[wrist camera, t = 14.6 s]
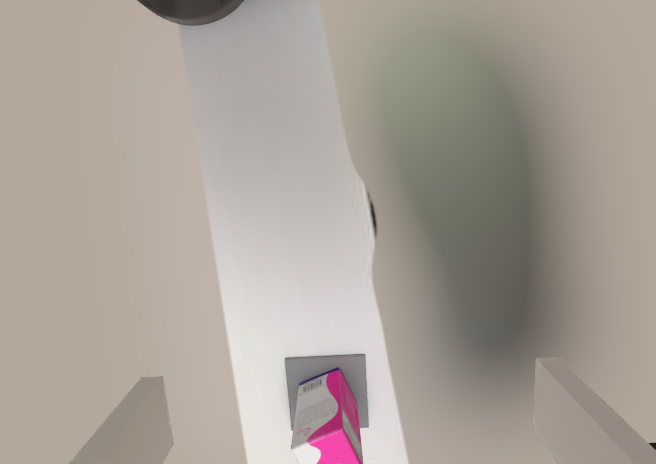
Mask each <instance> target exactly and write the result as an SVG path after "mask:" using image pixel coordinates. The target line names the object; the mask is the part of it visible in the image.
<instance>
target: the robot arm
mask: <svg viewBox="0 0 656 464" xmlns="http://www.w3.org/2000/svg"><path fill="white" fill-rule="evenodd" d="M138 1H139V2H140V3H141V4H143V5H144V6H145V7H147V8H148V9H149V10H151V11H152V12H154V13H155V14H157V15H158V16H160V17H162V18H164V19H166V20H169V21H171V22H175V23H179V24H184V25H201V24H207V23H211V22H214V21H216V20H219V19H221V18H223V17H225V16H226V15H228V14H229V13H231V12H232V11H233V10H234V9H236V8H237V7H238V6H239V5H240V4H241V2H242V1H243V0H138ZM534 396H535V397H534V420H533V421H534V422H533V429H534V430H535V432H536V433H537V435H538V436H539V438H540V439H541V440H542V442H543V443H544V445H545V446H546V448H547V449H548V451H549V452H550V453H551V455H552V456H553V458H554V459H555V461H556V462H557V464H656V443H647V441H645V440H644V439H643V438H642V437H641V436H640V435H639V434H638V433H637V432H636V431H635V430H634V429H633V428H632V427H631V426H630V425H629V424H628V423H627V422H626V421H624V419H623V418H622V417H620V416H619V415H618V414H617V413H616V412H615V411H614V410H613V409H612V408H611V407H610V406H609V405H608V404H607V403H606V402H605V401H604V400H603V399H602V398H601V397H600V396H599V395H597V394H596V393H595V392H594V391H593V390H592V389H591V388H590V387H589V386H588V385H587V384H586V383H585V382H584V381H583V380H582V379H581V378H579V376H578V375H577V374H576V373H574V372H573V371H572V370H571V369H570V368H569V367H568V366H567V365H566V364H565V363H564V362H563V361H562V360H561V359H560V358H559V357H551V358H536V370H535V395H534ZM173 444H174V443H173V437H172V431H171V425H170V418H169V412H168V406H167V400H166V395H165V387H164V381H163V377H162V376H159V377H142V378H141V379H140V380H139V381H138V382H137V383H136V385H135V386H134V387H133V388H132V390H131V391H130V392H129V393H128V394H127V395H126V396H125V398H124V399H123V400H122V401H121V402H120V404H119V405H118V406H117V407H116V408H115V409H114V411H113V412H112V413H111V414H110V416H109V417H108V418H107V419H106V420H105V421H104V423H103V424H102V425H101V426H100V427H99V428H98V430H97V431H96V432H95V433H94V435H93V436H92V437H91V438H90V439H89V440H88V442H87V443H86V444H85V445H84V446H83V448H82V449H81V450H80V451H79V452H78V453H77V454H76V456H75V457H74V458H73V459H72V460H71V462H70V463H69V464H163V462H164V460H165V459H166V457H167V455H168V453H169V451H170V449H171V448H172V446H173Z"/></svg>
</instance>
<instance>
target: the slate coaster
mask: <svg viewBox="0 0 656 464" xmlns="http://www.w3.org/2000/svg"><path fill="white" fill-rule="evenodd" d="M285 366H286V376H287V387H288V397H289V408H290V418H291V429H292V431H293V429H294V421H295V413H296V405H297V397H298V389H299V384H300V383H302V382H304V381H307V380H309V379H312V378H314V377H316V376H319V375H321V374H323V373H326V372H328V371H331V370H333V369H336V368H340V370H341V372H342V374H343V376H344V378H345V380H346V382H347V384H348V386H349V388H350V390H351V392H352V394H353V396H354V398H355V400H356V402H357V407H358V418H359V428H365V427H369V424H368V405H367V386H366V367H365V354H356V355H336V356H316V357H296V358H285Z"/></svg>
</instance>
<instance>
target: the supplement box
mask: <svg viewBox="0 0 656 464" xmlns="http://www.w3.org/2000/svg"><path fill="white" fill-rule="evenodd" d="M291 451H292V452H293V454H294V456H295V457H296V459H297V461H298V463H299V464H363V457H362V448H361V438H360V428H359V418H358V407H357V402H356V400H355V398H354V396H353V394H352V392H351V390H350V388H349V386H348V384H347V382H346V380H345V378H344V376H343V374H342V372H341V370H340V368H336V369H333V370H331V371H328V372H326V373H323V374H321V375H319V376H316V377H314V378H312V379H309V380H307V381H304V382H302V383H300V384H299V389H298V397H297V405H296V413H295V421H294V429H293V437H292V445H291Z"/></svg>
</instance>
